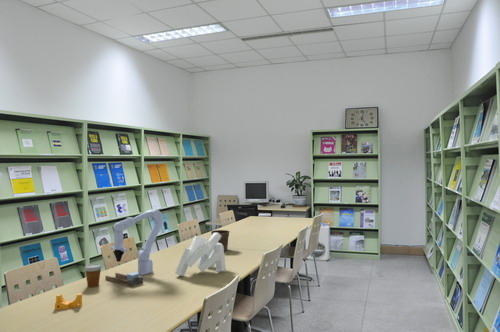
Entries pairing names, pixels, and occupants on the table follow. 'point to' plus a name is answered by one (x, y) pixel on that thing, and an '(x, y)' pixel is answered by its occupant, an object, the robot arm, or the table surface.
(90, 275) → the disposable coffee cup
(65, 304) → the pipe clamp
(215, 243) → the pile of blocks
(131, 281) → the guide rail
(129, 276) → the block
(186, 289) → the table surface
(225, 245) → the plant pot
